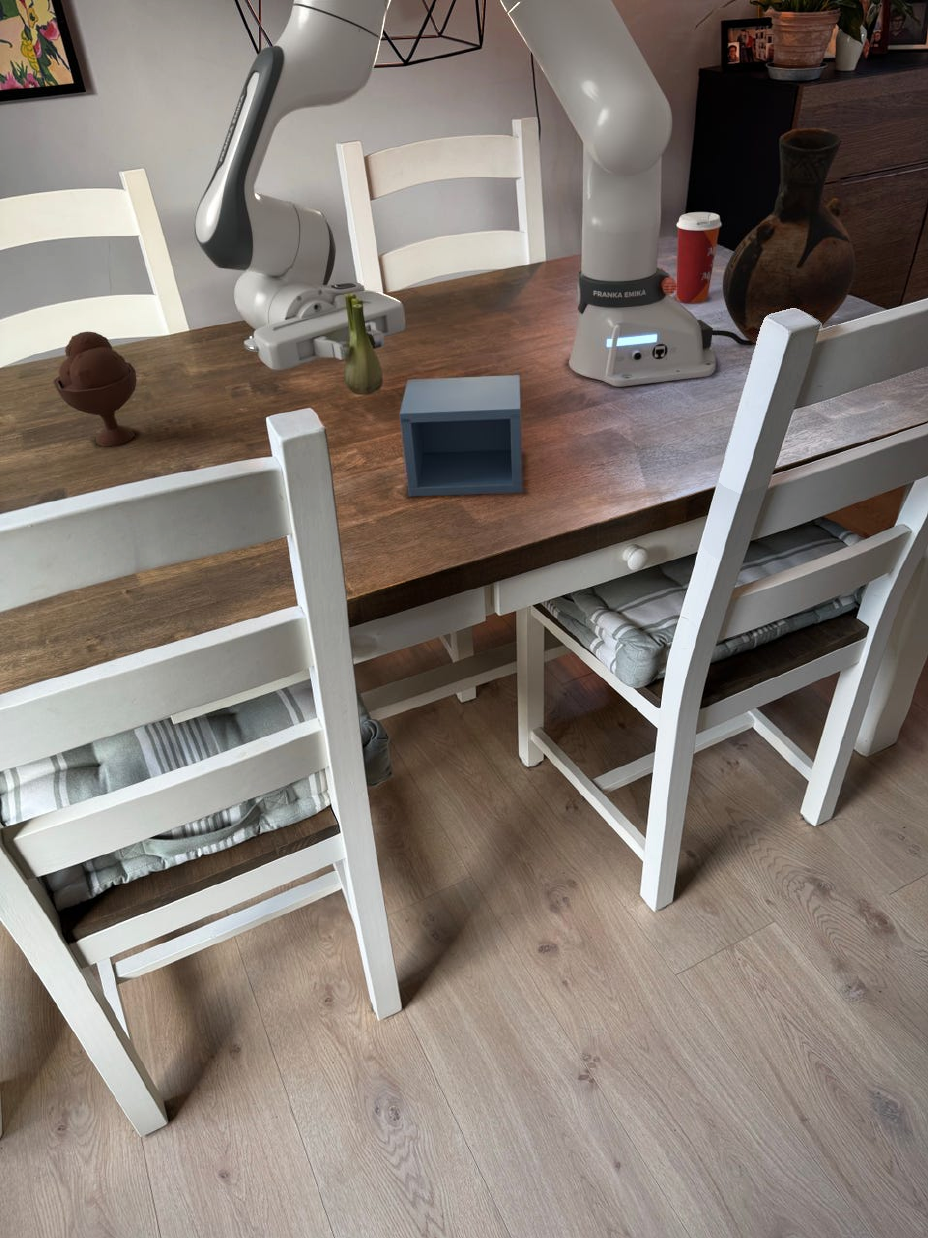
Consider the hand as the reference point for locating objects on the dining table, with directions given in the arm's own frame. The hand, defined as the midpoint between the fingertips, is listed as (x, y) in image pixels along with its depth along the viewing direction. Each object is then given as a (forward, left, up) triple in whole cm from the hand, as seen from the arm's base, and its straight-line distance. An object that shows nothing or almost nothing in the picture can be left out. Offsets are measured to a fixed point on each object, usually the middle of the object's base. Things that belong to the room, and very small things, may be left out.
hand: (363, 346), depth 106 cm
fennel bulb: (+1, -1, -6) cm, 6 cm away
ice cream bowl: (+40, -9, -15) cm, 43 cm away
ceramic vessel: (-61, -36, -15) cm, 72 cm away
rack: (-12, +6, -15) cm, 20 cm away
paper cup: (-51, -59, -15) cm, 79 cm away
